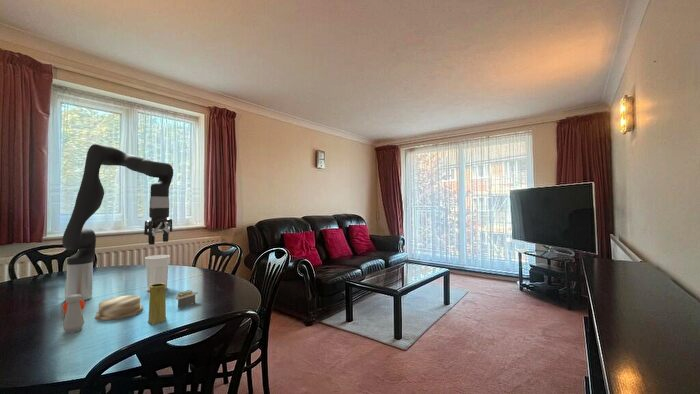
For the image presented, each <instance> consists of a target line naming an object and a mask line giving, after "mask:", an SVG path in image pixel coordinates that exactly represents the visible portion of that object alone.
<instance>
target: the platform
mask: <svg viewBox="0 0 700 394" xmlns="http://www.w3.org/2000/svg"><path fill="white" fill-rule="evenodd" d="M196 295H199V292H197V291H195V292H194V291H192V290H190V289H189V290H188V289H187V290H185V291H184V290H183V291H180V292H179V291H178V292H177V295H175V300H177V308H179V307H180V308H182V307H185V306H189V305H193V304H195V303H196Z"/></svg>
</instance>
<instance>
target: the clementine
mask: <svg viewBox="0 0 700 394" xmlns="http://www.w3.org/2000/svg"><path fill="white" fill-rule="evenodd" d="M79 302H80V306H81V310H82V311H83V310H84V308H85V306H86V302H85V300H83V299H82V300H81V301H79ZM67 306H68V303H66V301H65V302H64V303H63V305H62V311H63V313H64V314H66V310H67Z"/></svg>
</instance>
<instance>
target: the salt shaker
mask: <svg viewBox="0 0 700 394" xmlns="http://www.w3.org/2000/svg"><path fill="white" fill-rule="evenodd" d="M81 300H82V295H80V294H75V295H70V296H68V297H67V298H66V300H65V302H66V303H68V306H67V310H66V313H65V316H64V318H63V324H62V330H63V331H64V332H65V333H66V334H74V333H78V332H79V331H81V330H82V329H83V326H84V324H85V319H84V315H83V310H81V306H80V302H79V301H81Z"/></svg>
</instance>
